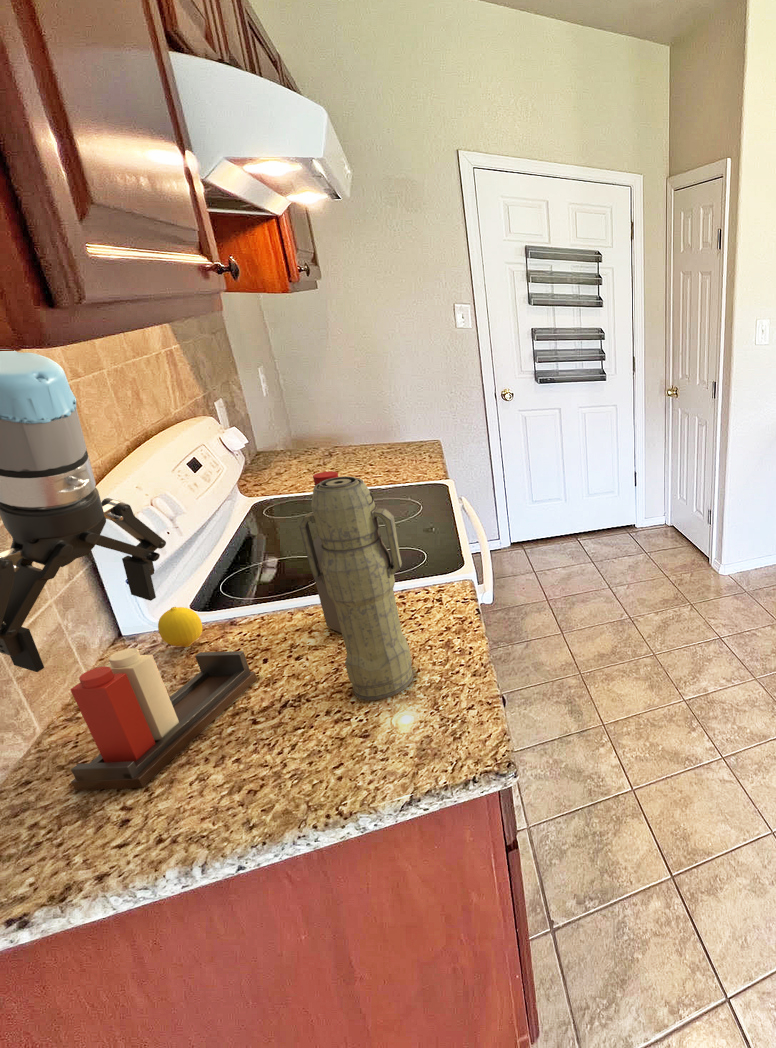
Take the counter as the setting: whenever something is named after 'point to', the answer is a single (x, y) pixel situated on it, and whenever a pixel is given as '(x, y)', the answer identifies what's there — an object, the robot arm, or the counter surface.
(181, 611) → the lemon
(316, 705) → the counter surface
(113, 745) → the marker red
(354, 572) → the thermos
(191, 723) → the rail
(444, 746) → the counter surface
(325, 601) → the liquor
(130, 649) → the marker cream
